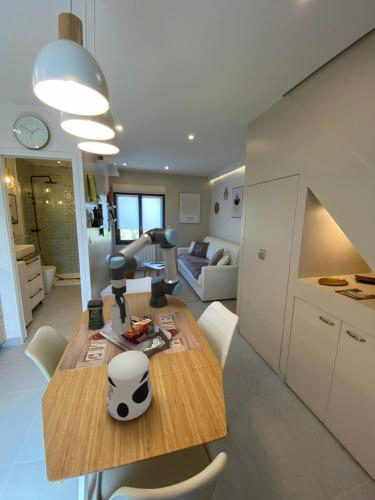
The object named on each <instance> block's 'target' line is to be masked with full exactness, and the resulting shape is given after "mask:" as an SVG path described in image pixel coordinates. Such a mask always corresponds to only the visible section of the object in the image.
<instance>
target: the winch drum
mask: <svg viewBox="0 0 375 500" xmlns="http://www.w3.org/2000/svg"><path fill="white" fill-rule="evenodd" d="M149 323H150V325H149V327H148V330H147V334H148V333H149V334H153V333H156V332H155V330H156V329H155V325H156V324H155V323H154V322H153V321H151V322H149ZM149 334H148V335H149Z"/></svg>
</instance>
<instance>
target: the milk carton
mask: <svg viewBox="0 0 375 500" xmlns="http://www.w3.org/2000/svg"><path fill="white" fill-rule="evenodd" d="M123 296H124V295H123ZM124 299H125V309H126V316H127V317H126V328H123V329H121V328H120V319H119V317H120V308H119V305H118V304H117V300H116V301H115V300H114V303H112V304H111V306H110V317H111V318H110V320H111V321H110V322H111V332H112V333H116V334H118V335H121V336H122V335H124V334H125V333H126V332H128V331H130V330H131V328H132V326H131V312H130V311H131V308H130V303H129V302H128V300H127V299H126V298H125V296H124Z"/></svg>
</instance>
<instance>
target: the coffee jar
mask: <svg viewBox="0 0 375 500" xmlns="http://www.w3.org/2000/svg"><path fill="white" fill-rule="evenodd" d="M103 308H104V301H103V299H90V300H88V301H87V305H86V309H87V311H88V324H87V326H88V329H89V330H98V329H102V328H103V327H104V326H105V317H104V311H103V310H104V309H103Z"/></svg>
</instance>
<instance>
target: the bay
mask: <svg viewBox="0 0 375 500" xmlns="http://www.w3.org/2000/svg"><path fill="white" fill-rule="evenodd" d="M157 330H158V331H156V332H155V333H153V334H147V335H143V336H139V337H140V338H139V337H137V338H138V339H137V340H145V341H142V342H139V344H140V346H141V348H142V350H143V351H142V352H143V353H144V354H146V355H147V354H150V355H153V354H156V353H158V352H162V351H164V350H167V349H169V348H170V347H171V346H170V344H171V343H170V338H169V336H167V335H166V333H165V332H164V331H163V330H162V328H161V327H158V329H157ZM157 336H160V337H161V338H160V337H159V338H160V339H162V340H163V341H164V342H165V344H162V345H161V346H158V347H155V348H152V349H149V350H146V348H151V346H152V344H153V340H154V337H155V338H158V337H157ZM162 340H161V341H162ZM163 341H162V342H163ZM164 342H163V343H164ZM144 350H146V351H144ZM147 356H148V355H147Z"/></svg>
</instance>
